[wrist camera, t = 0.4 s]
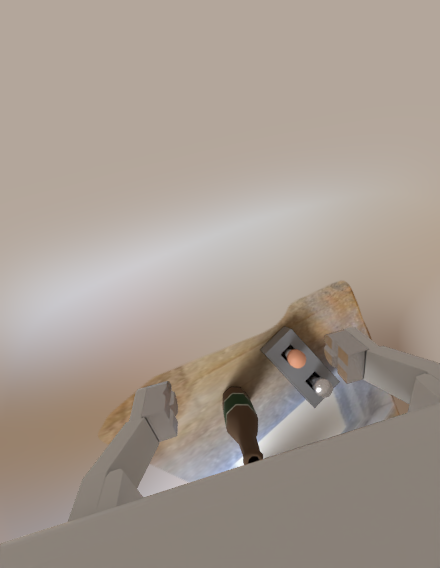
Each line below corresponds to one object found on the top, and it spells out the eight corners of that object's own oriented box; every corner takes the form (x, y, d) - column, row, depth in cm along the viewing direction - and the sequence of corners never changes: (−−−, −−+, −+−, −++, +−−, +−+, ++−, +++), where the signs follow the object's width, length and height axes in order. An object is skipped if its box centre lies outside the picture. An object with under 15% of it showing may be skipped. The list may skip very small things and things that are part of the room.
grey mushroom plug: (322, 379, 61) (336, 388, 55) (312, 390, 60) (324, 401, 54) (312, 368, 61) (324, 375, 55) (301, 379, 60) (312, 388, 54)
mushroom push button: (299, 353, 61) (309, 359, 55) (288, 364, 60) (297, 372, 54) (288, 341, 61) (297, 346, 55) (277, 352, 60) (285, 359, 54)
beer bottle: (217, 391, 62) (226, 450, 38) (242, 381, 63) (266, 433, 39) (226, 417, 62) (241, 493, 38) (251, 406, 62) (282, 474, 38)
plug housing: (329, 375, 65) (339, 381, 60) (306, 399, 64) (314, 408, 59) (284, 326, 64) (290, 328, 59) (260, 349, 63) (265, 354, 58)
